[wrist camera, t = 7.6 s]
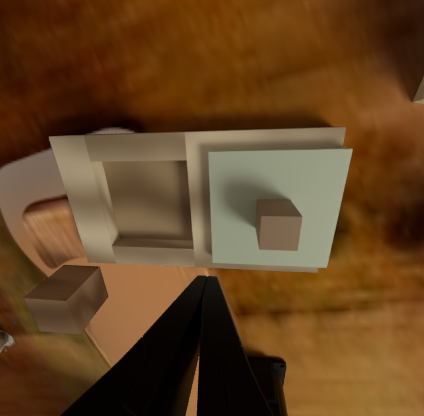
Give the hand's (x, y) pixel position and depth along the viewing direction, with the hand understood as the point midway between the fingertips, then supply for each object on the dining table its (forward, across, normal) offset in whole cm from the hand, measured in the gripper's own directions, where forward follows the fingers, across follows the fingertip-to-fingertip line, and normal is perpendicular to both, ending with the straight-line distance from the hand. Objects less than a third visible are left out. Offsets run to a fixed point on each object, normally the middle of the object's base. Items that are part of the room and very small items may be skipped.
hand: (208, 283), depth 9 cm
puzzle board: (+11, +3, 0) cm, 11 cm away
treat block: (+11, +17, +11) cm, 23 cm away
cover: (+9, -4, 0) cm, 9 cm away
